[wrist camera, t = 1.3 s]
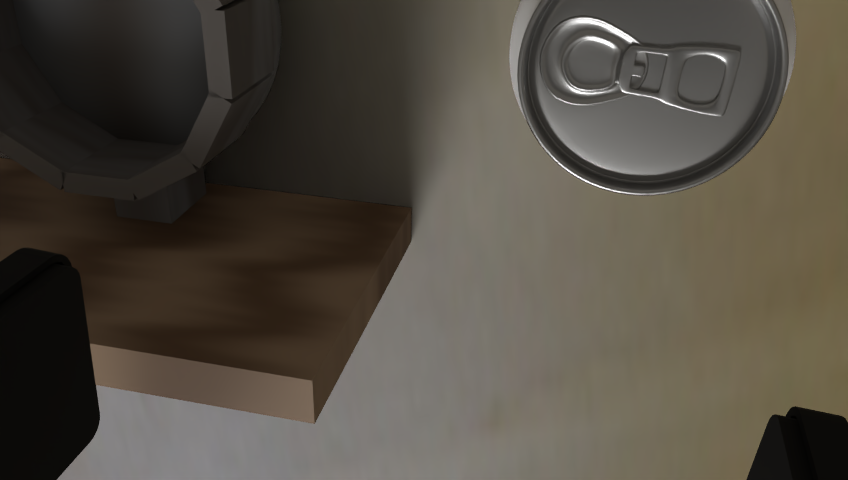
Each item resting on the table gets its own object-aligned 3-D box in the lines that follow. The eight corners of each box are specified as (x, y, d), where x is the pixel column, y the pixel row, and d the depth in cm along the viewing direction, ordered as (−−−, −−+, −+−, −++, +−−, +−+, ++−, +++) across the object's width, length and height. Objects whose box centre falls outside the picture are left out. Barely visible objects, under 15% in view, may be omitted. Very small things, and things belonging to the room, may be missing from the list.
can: (564, -134, 27) (519, -103, 16) (767, -112, 26) (859, -65, 15) (534, 59, 30) (481, 187, 19) (715, 85, 29) (761, 236, 18)
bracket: (417, -143, 27) (286, -120, 17) (410, 241, 34) (314, 423, 24) (-84, -162, 31) (-440, -151, 21) (1, 188, 38) (-234, 326, 28)
